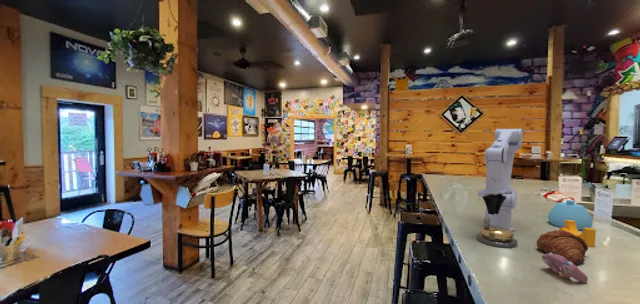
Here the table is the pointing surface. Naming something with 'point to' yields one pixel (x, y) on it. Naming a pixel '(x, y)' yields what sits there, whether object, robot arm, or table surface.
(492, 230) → the round lid with handle
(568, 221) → the pipe clamp
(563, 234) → the pastry
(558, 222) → the sugar bowl
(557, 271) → the video game controller
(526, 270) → the table surface
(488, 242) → the base plate
